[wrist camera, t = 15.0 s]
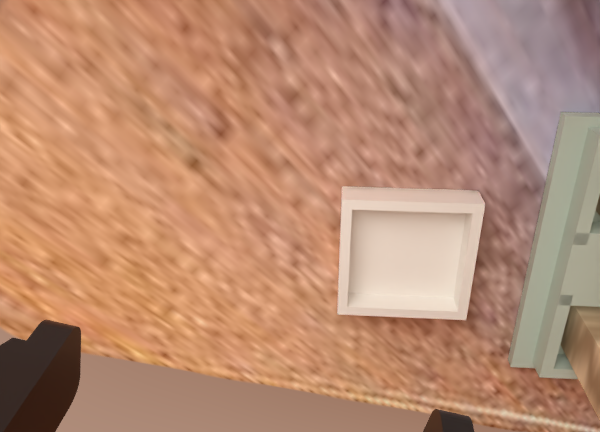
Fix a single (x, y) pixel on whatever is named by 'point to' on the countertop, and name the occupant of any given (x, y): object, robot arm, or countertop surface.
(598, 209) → the block
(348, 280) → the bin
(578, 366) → the block
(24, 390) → the robot arm
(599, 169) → the green slotted tray
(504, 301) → the countertop surface
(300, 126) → the countertop surface
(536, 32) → the countertop surface
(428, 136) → the countertop surface
